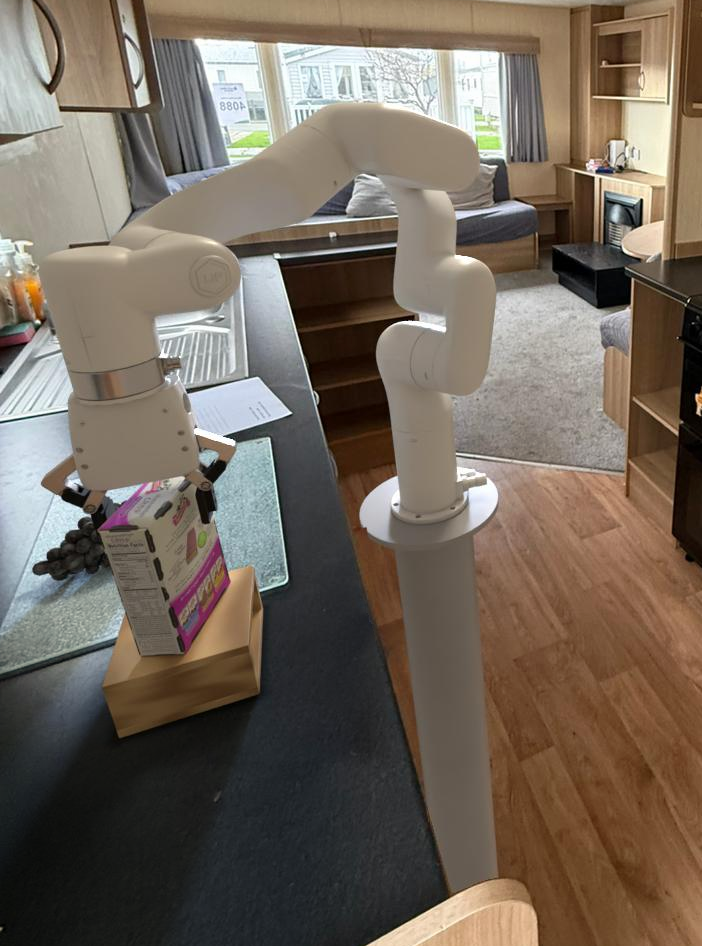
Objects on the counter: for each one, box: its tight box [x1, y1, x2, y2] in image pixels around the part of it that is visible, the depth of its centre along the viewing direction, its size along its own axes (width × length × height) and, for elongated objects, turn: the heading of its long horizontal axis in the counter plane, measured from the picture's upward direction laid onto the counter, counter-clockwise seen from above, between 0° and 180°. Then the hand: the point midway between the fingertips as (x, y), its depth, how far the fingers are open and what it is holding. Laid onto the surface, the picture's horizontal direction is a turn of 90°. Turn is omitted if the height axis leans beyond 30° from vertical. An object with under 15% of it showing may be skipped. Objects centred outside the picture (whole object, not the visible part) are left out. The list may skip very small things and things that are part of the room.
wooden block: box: [101, 564, 264, 739], centre depth 74 cm, size 13×14×7 cm
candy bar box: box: [97, 476, 231, 657], centre depth 70 cm, size 11×5×16 cm, turn 5°
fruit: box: [31, 499, 128, 582], centre depth 91 cm, size 9×8×15 cm
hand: (161, 526), depth 69 cm, fingers open, 8 cm apart
